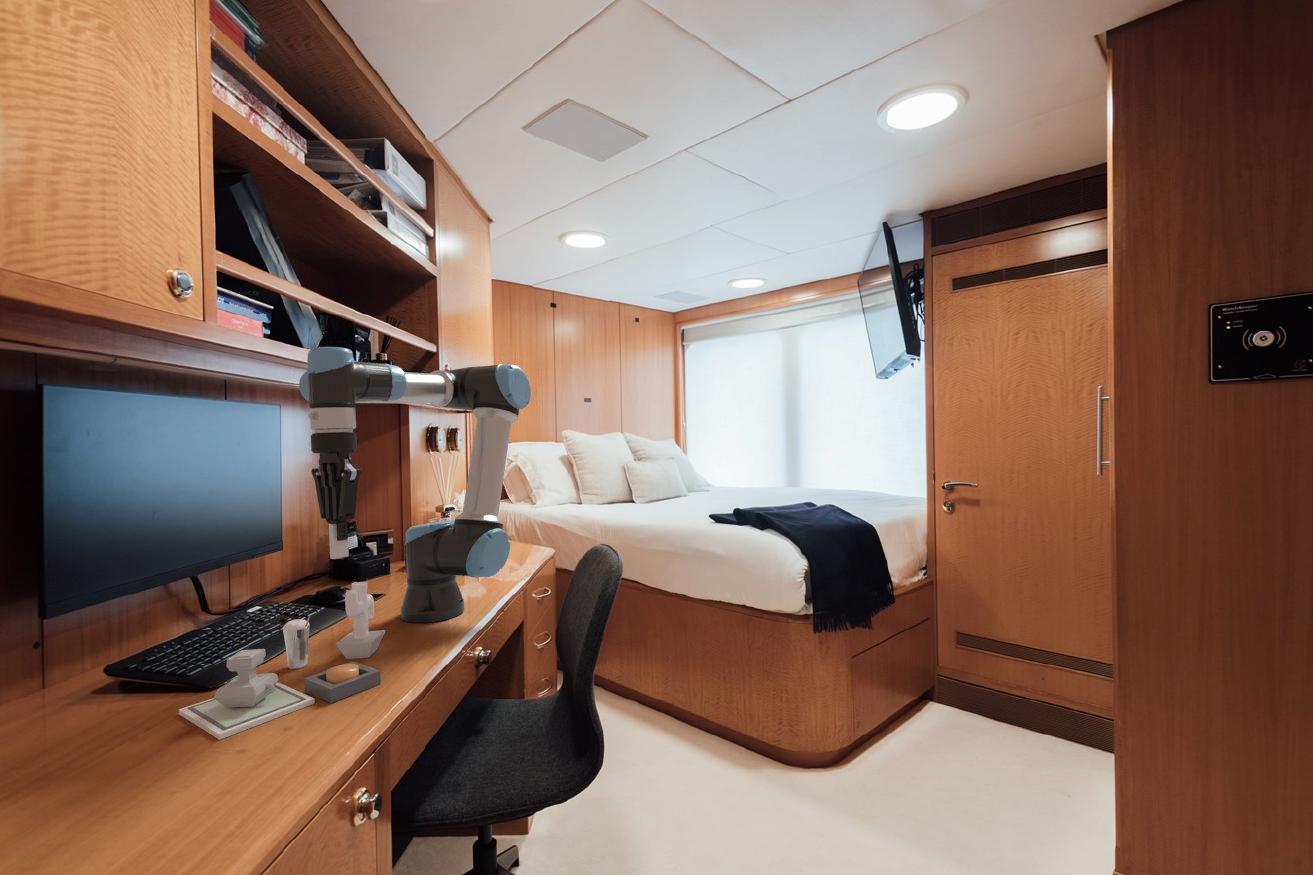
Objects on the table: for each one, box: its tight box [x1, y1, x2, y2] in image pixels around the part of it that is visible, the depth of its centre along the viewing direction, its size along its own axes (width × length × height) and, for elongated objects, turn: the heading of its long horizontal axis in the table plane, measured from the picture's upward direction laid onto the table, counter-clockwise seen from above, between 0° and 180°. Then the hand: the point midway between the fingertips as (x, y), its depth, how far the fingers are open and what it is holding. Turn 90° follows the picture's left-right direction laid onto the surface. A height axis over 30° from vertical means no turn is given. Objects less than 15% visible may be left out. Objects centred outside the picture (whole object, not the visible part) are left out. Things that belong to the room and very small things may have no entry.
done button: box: [325, 663, 359, 685], centre depth 109 cm, size 5×5×3 cm
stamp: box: [213, 648, 279, 708], centre depth 101 cm, size 9×7×8 cm
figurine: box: [335, 581, 387, 660], centre depth 125 cm, size 7×9×15 cm
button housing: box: [303, 661, 382, 704], centre depth 109 cm, size 9×9×2 cm
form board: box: [178, 681, 316, 741], centre depth 101 cm, size 14×16×1 cm
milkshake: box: [282, 616, 311, 670], centre depth 119 cm, size 4×5×10 cm
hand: (339, 557), depth 112 cm, fingers closed
